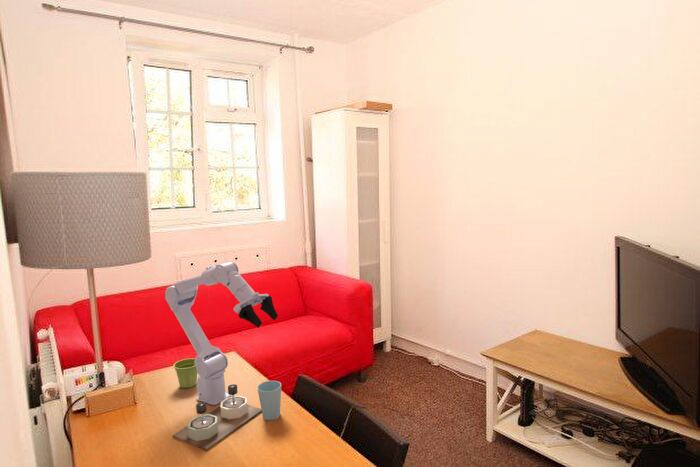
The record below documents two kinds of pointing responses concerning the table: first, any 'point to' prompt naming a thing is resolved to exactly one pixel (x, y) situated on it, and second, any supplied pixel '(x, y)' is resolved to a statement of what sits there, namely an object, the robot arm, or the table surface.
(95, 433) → the table surface
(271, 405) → the cup
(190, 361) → the plant pot
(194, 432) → the housing
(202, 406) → the plunger
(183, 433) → the board
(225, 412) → the housing
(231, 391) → the plunger
